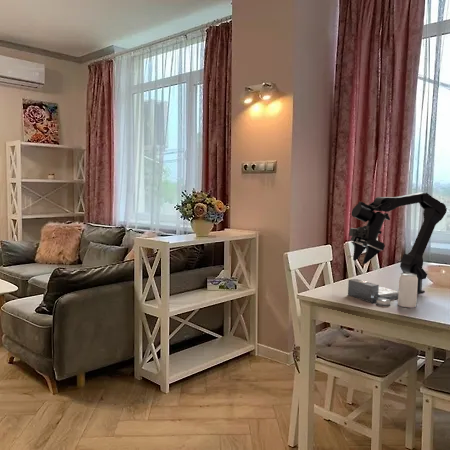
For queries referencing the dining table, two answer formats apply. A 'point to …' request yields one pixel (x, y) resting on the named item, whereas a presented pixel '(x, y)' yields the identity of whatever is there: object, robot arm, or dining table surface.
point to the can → (407, 290)
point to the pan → (386, 292)
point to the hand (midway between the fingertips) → (359, 261)
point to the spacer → (383, 302)
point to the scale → (366, 291)
